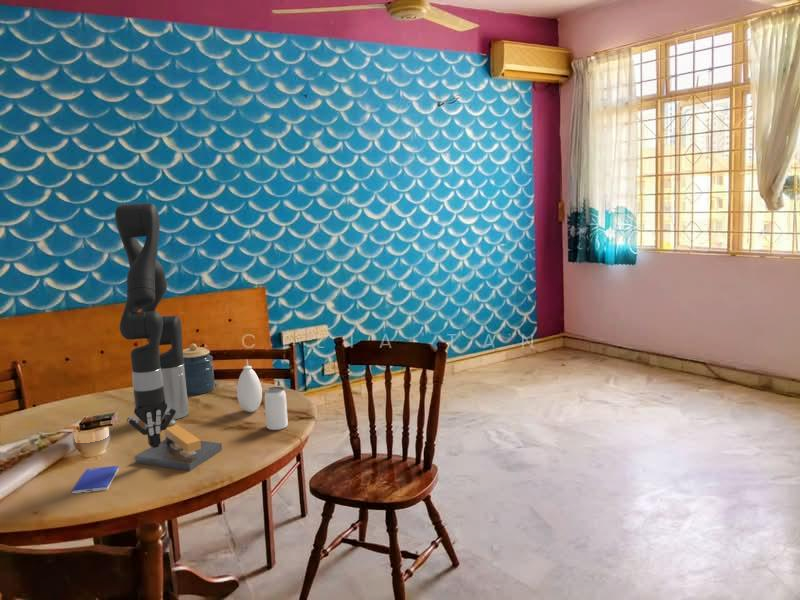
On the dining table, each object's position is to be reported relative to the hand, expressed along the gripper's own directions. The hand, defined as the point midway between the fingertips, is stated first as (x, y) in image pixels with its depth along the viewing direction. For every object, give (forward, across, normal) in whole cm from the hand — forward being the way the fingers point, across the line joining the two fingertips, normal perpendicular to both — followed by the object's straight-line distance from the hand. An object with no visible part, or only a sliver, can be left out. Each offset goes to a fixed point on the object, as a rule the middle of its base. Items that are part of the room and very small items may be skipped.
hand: (155, 446), depth 175 cm
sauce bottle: (+5, +38, +19) cm, 42 cm away
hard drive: (+5, -16, -1) cm, 17 cm away
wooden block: (+2, +7, 0) cm, 7 cm away
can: (+5, +37, 0) cm, 37 cm away
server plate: (+4, +6, -1) cm, 8 cm away
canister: (+5, +34, +55) cm, 65 cm away
